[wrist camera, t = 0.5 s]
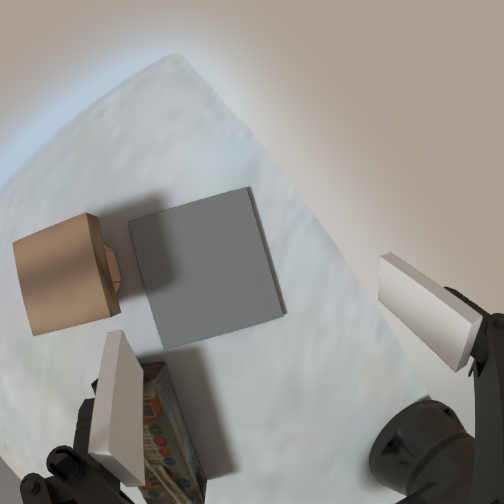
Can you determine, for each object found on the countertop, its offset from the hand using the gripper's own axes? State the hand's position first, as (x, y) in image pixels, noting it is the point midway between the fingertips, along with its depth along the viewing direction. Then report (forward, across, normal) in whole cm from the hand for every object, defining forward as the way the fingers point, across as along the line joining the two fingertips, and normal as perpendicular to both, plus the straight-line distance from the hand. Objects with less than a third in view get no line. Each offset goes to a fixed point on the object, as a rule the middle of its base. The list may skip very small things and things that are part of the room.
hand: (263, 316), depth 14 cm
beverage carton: (+13, +14, +23) cm, 30 cm away
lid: (+18, +17, +2) cm, 24 cm away
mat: (+20, +2, +6) cm, 21 cm away
